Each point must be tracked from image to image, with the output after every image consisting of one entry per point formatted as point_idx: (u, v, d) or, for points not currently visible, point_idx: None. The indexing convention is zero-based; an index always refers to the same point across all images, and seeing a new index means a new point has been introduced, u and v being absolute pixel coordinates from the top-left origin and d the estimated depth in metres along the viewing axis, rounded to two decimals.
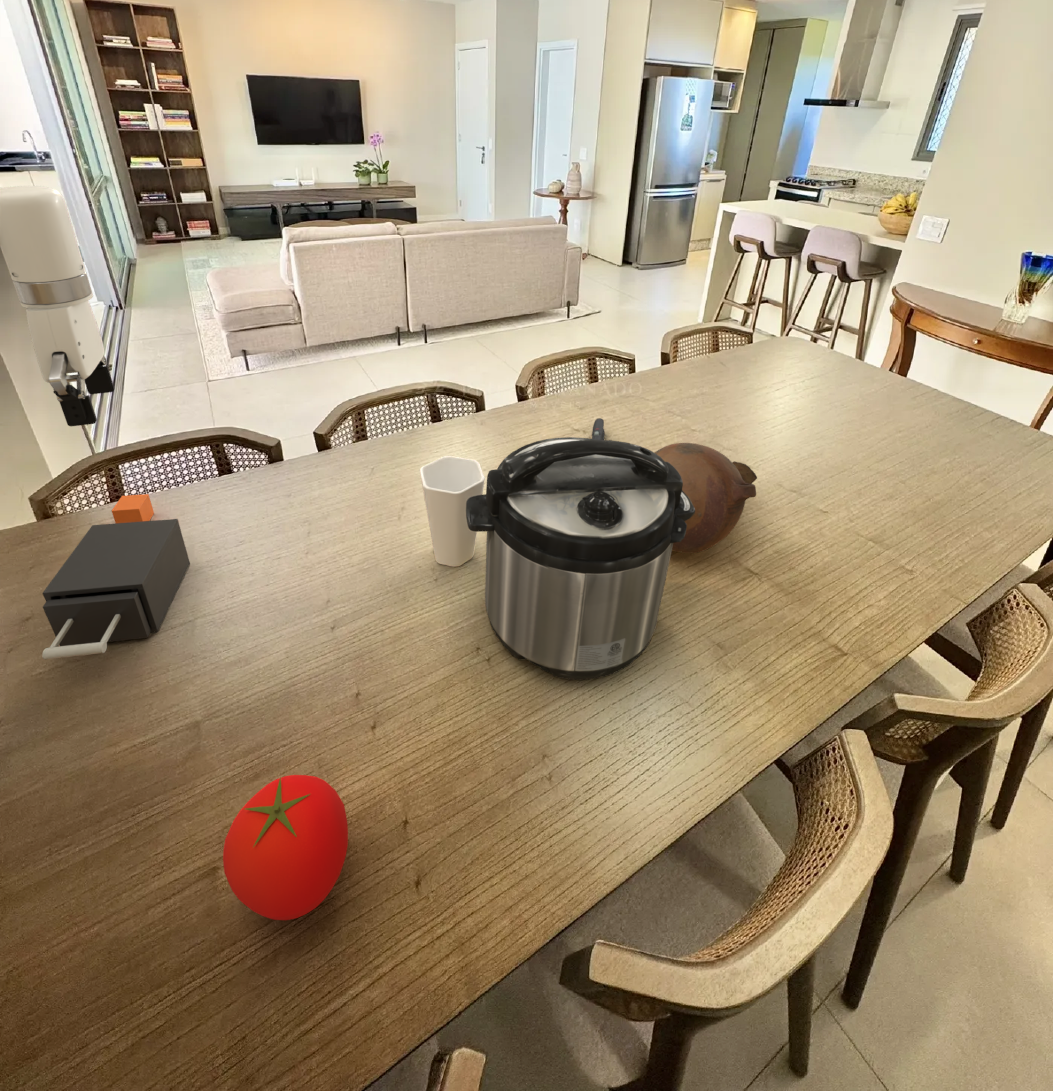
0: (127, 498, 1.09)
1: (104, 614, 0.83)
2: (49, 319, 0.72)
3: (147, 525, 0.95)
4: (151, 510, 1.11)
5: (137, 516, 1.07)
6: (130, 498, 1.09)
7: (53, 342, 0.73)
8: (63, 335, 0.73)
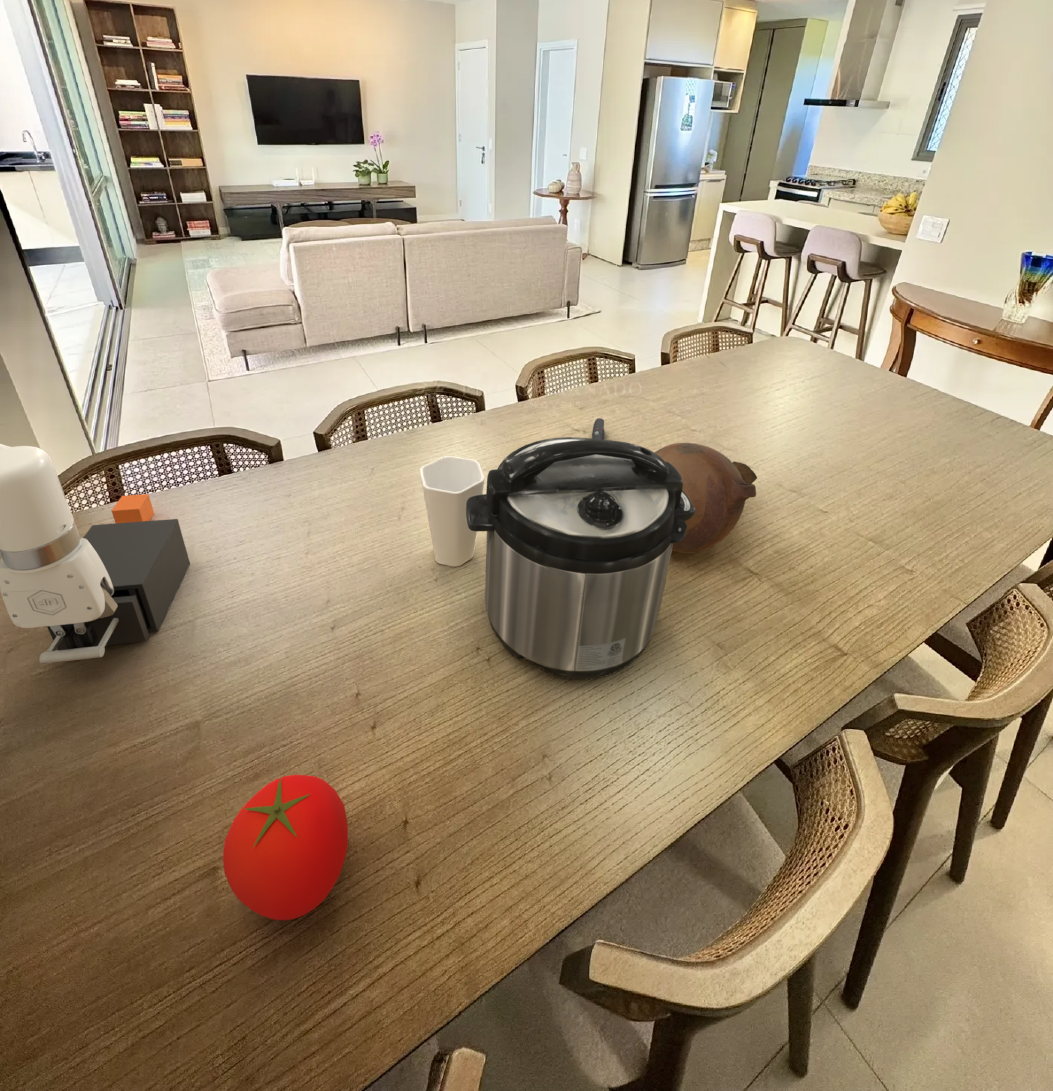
0: (127, 498, 1.09)
1: (102, 618, 0.82)
2: (87, 555, 0.74)
3: (147, 525, 0.95)
4: (151, 510, 1.11)
5: (137, 516, 1.07)
6: (130, 498, 1.09)
7: (98, 573, 0.75)
8: (99, 562, 0.76)
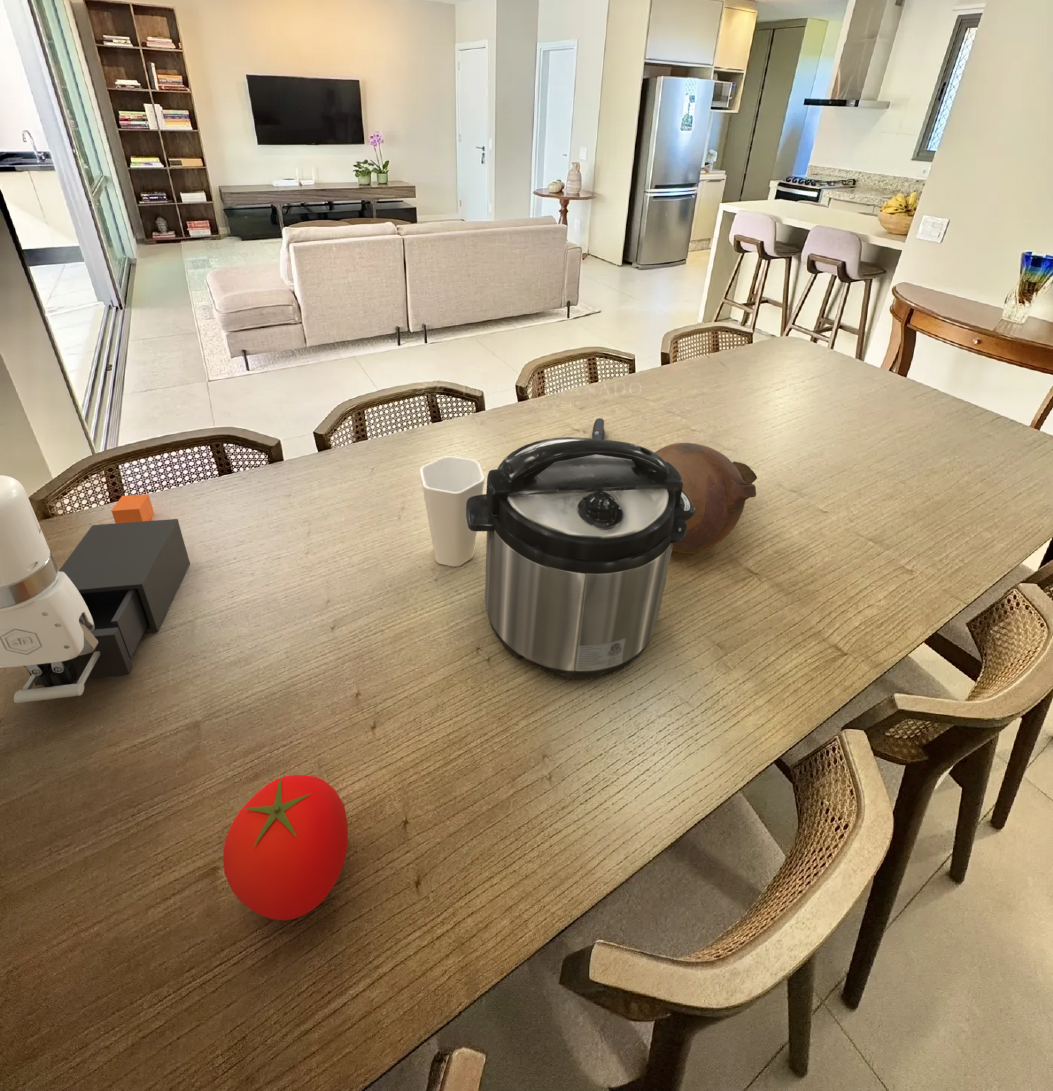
0: (127, 498, 1.09)
1: None
2: (65, 590, 0.69)
3: (147, 525, 0.95)
4: (151, 510, 1.11)
5: (137, 516, 1.07)
6: (130, 498, 1.09)
7: (76, 609, 0.70)
8: (77, 597, 0.71)
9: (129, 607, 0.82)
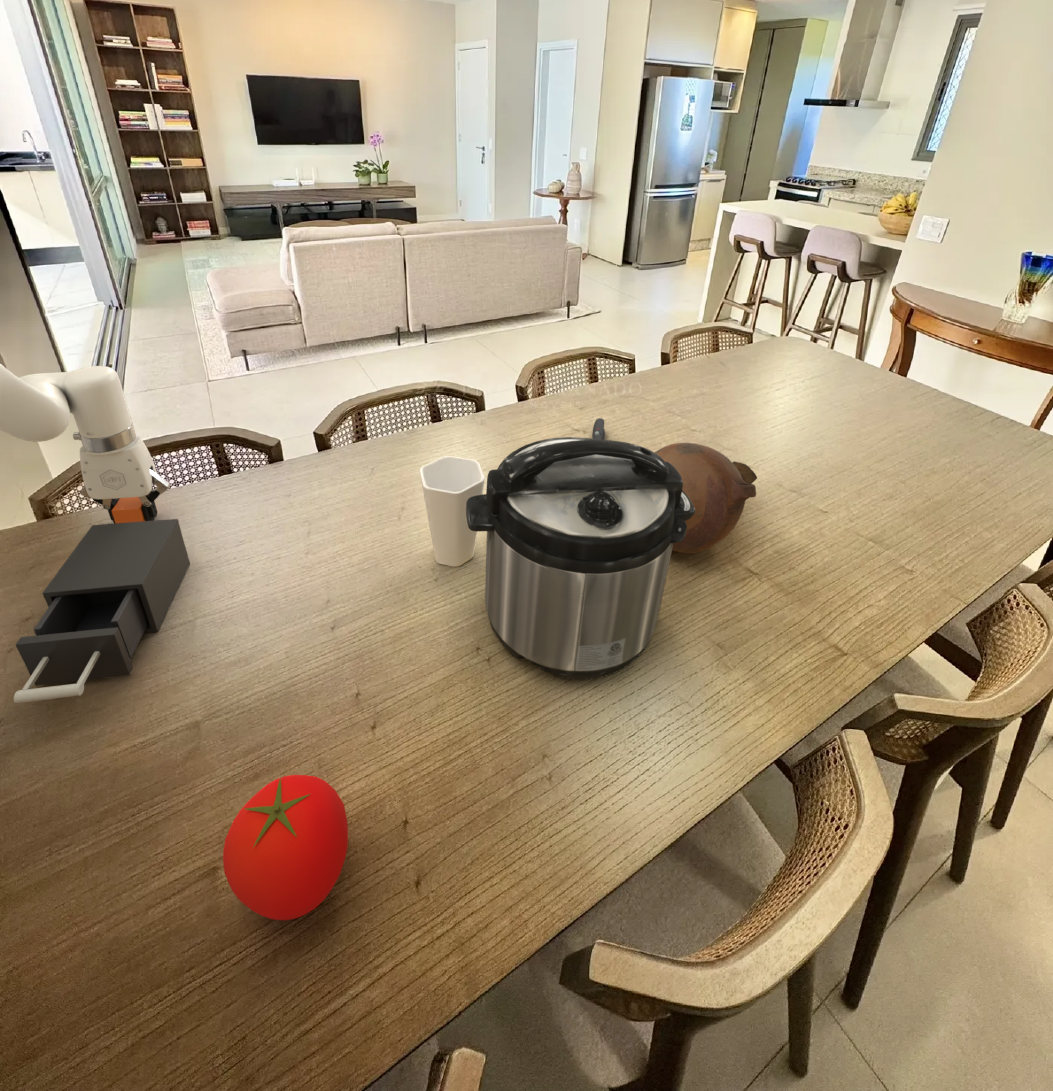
0: (127, 498, 1.09)
1: (82, 651, 0.77)
2: (141, 447, 1.03)
3: (147, 525, 0.95)
4: None
5: (137, 516, 1.07)
6: (130, 498, 1.09)
7: (148, 461, 1.05)
8: (148, 454, 1.05)
9: (129, 607, 0.82)
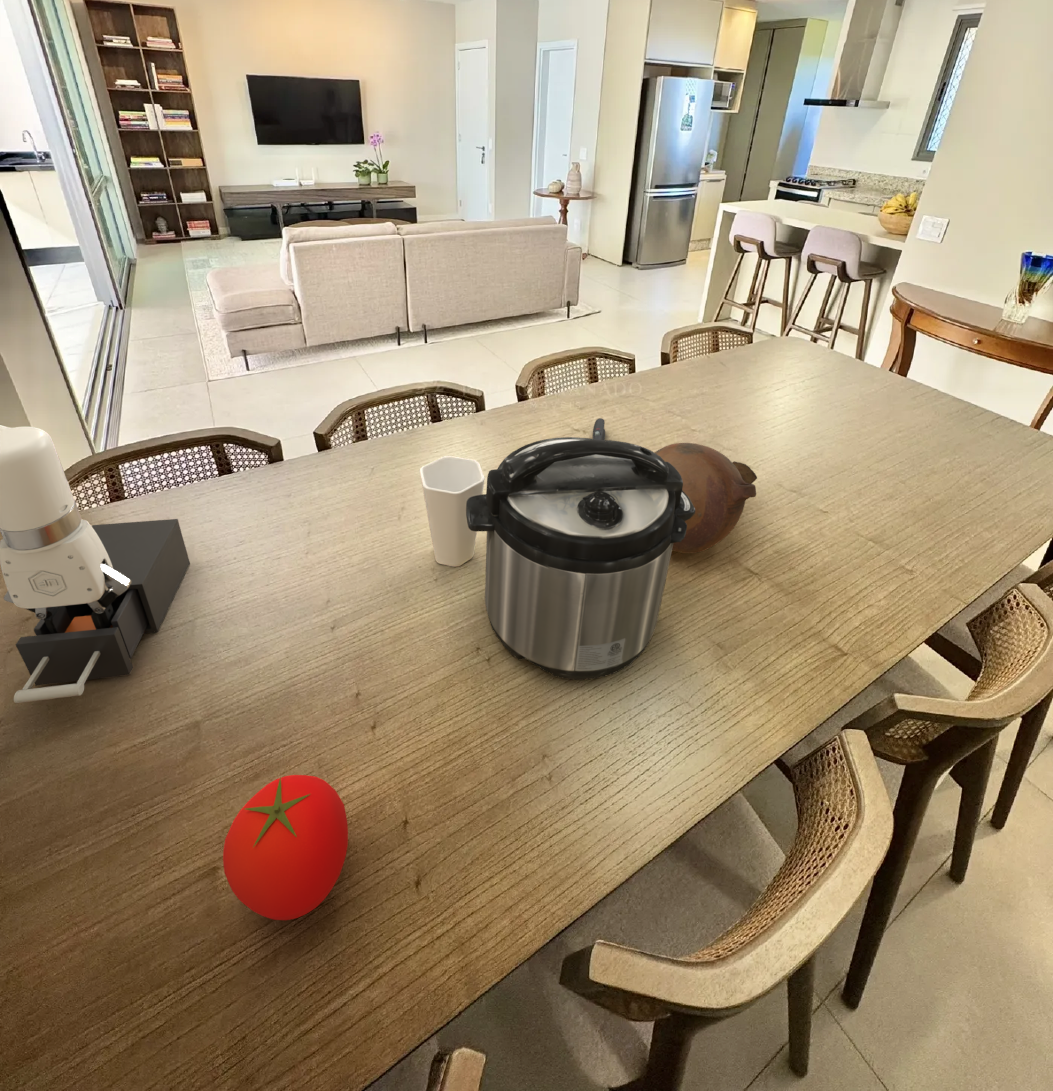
0: (81, 621, 0.81)
1: (82, 651, 0.77)
2: (88, 536, 0.74)
3: (147, 525, 0.95)
4: None
5: None
6: (85, 621, 0.81)
7: (98, 554, 0.75)
8: (99, 544, 0.76)
9: (129, 607, 0.82)
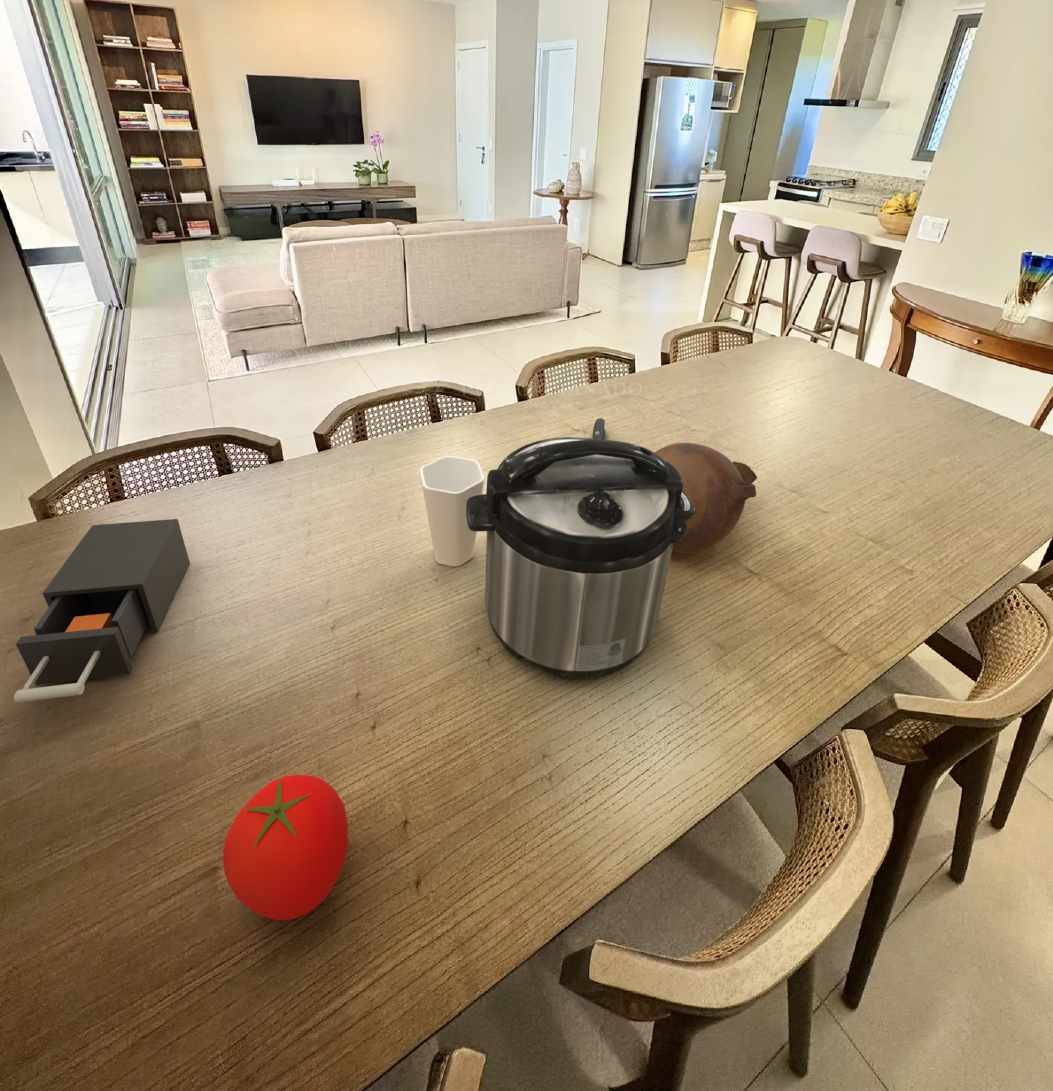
0: (82, 621, 0.81)
1: (82, 651, 0.77)
2: None
3: (147, 525, 0.95)
4: None
5: None
6: (85, 621, 0.81)
7: None
8: None
9: (129, 607, 0.82)
